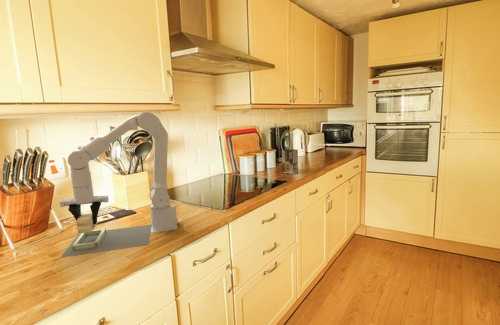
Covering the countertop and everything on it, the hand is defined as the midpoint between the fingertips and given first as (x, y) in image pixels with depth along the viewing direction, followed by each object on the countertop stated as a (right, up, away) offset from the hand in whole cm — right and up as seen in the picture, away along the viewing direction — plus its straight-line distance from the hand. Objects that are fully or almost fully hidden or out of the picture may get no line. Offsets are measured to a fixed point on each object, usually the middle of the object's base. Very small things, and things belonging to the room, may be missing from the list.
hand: (88, 224), depth 101 cm
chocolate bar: (-4, -3, +27) cm, 27 cm away
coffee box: (+84, +14, +100) cm, 131 cm away
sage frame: (0, -6, +1) cm, 7 cm away
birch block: (0, -1, 0) cm, 1 cm away
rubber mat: (+7, -6, +2) cm, 10 cm away
